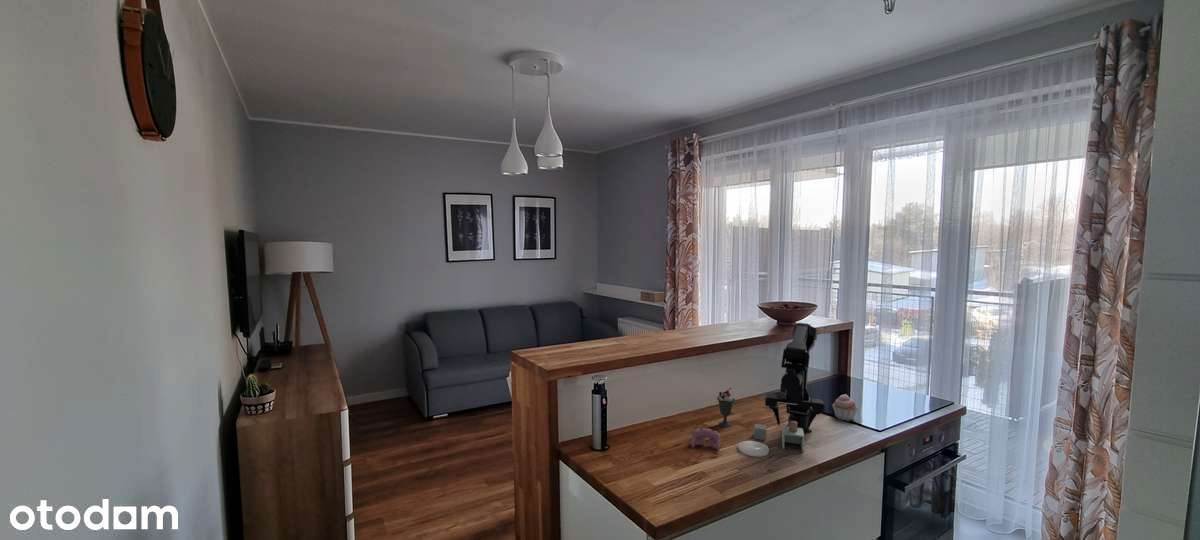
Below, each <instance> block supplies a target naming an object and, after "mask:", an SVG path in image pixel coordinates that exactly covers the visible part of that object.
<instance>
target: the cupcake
mask: <svg viewBox="0 0 1200 540" xmlns="http://www.w3.org/2000/svg"><path fill="white" fill-rule="evenodd" d="M831 406H832V409H833V411H834V414H835V415H834V416H835V418H836V417H837V418H836V419H837V420H840V419H841V420H840V421H843V420H846V421H845V422H851V421H850V420H852V421H854V419H855V417H856V413H857V412H858V410H859V408H858V407H857V404H856V402H855V400H854V399H853V398H851V397H850V396H849V395H848V394H847V393H845V394H841V395H840V396H838V397H837V398H836V399H835V401H834V402H833V404H831Z"/></svg>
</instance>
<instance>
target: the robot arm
mask: <svg viewBox="0 0 1200 540" xmlns="http://www.w3.org/2000/svg"><path fill="white" fill-rule="evenodd" d="M791 336H792V341H790V342H788V343H787V344H786V346H785V348H783V352H782V360H781V368H783V369H785V372H784V374H783V376H782V377H781V380H780V382H781V383H780V386H779V387H780V389H779V390H780V393H781V394H784V398H782V397H778V394H776V393H775V394H774V393H773V394H772V393H766V394H765V396H764V397H765V398H764V406H766V407H768V409H770V410H772V412H773V413H774V416H775V420H776V422H777V426H780V425H781V424H780V413H779V412H780V410H779V404H780V405H786V414H789V415H788V421H787V422H788V423H787V425H786V426H788V427H789V421H796V422H797V428H803V432H804V433H812V429H810V428H811V425H812V422H813V421H814V420H815V418H816V416H817V415H820V414H821V413H825V407H826V406H825V402H824V401H823V400H822V399H819V398H813V397H811V395H810V393H809V392H808V389H807V388H808V387H807V385H808V376H809V375H808V374H809V373H808V372H809V364H810V358H811V357H810V356H811V355H810V351H811V350H812V349H813V348H814V346H815V345H816V344H815V342H816V341H817V339H818V330H817V328H816V327H814V326H811V324H810V323H802V322H796V323H795V325H793V326H792V334H791Z"/></svg>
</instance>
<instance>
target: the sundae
mask: <svg viewBox="0 0 1200 540" xmlns="http://www.w3.org/2000/svg"><path fill="white" fill-rule="evenodd" d="M730 390H732V387H729V388H728V389H726V391H723V392H722V391H719V393H718V395H719V396H717V397H716V400H717V401H718V405H719V406H718V407H719V412H720V414H721V415H722V416H723V420H722V421H720V422H718V423H717V424H718V425H719V426H720V427H724V428H730V427H732V423H731V422H729V421H728V420H727V417H728V416H730V414H731V413H732V408H733V403H734V402H735V399H736V398H733V397H732V395H731V393H730Z"/></svg>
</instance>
